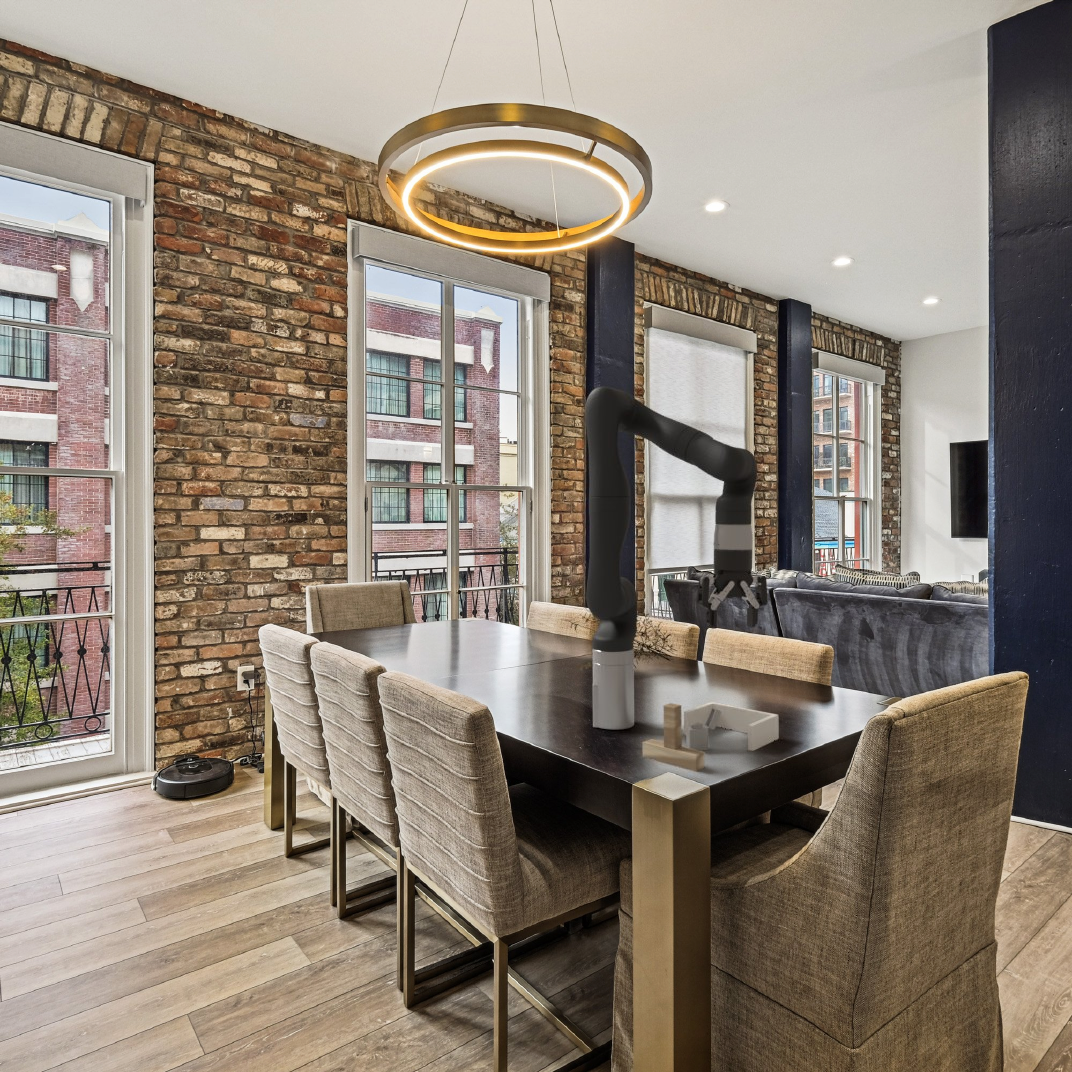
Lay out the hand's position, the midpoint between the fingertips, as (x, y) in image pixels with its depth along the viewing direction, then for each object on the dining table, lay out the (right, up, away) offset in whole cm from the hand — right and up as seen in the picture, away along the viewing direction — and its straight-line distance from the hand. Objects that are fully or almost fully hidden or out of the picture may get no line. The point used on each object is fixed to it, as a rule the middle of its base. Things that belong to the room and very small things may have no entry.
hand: (732, 627), depth 147 cm
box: (+1, -24, +7) cm, 25 cm away
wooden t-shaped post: (-13, -25, -8) cm, 29 cm away
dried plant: (-15, -23, +65) cm, 71 cm away
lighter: (-6, -25, 0) cm, 25 cm away
